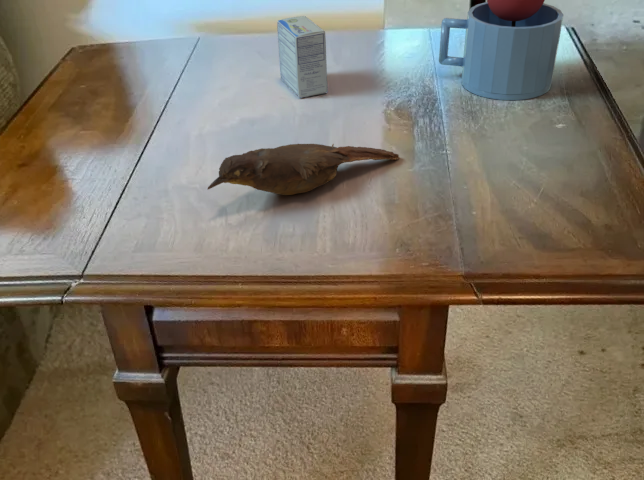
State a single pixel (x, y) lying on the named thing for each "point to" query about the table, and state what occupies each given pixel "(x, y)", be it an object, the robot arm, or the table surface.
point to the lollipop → (514, 9)
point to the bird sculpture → (292, 166)
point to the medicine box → (302, 56)
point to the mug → (505, 52)
